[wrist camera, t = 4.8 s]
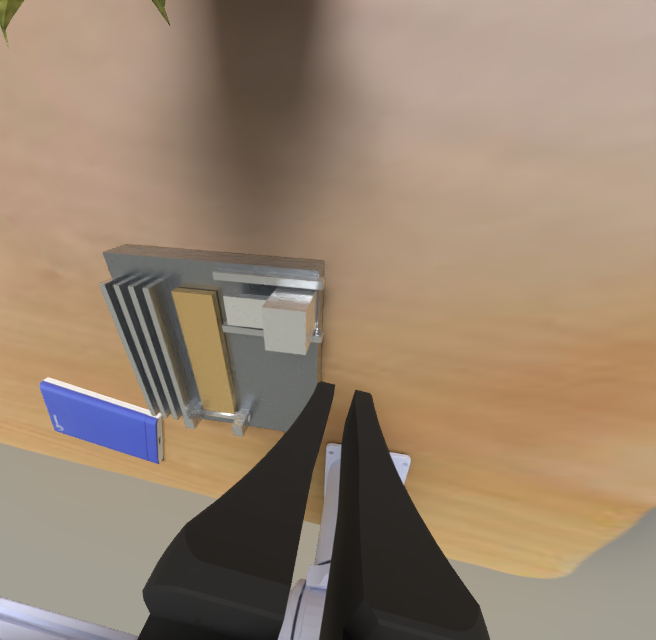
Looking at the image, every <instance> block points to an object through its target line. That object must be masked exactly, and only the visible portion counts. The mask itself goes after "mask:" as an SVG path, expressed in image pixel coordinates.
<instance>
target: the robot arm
mask: <svg viewBox="0 0 656 640" xmlns="http://www.w3.org/2000/svg"><path fill="white" fill-rule="evenodd" d="M334 389H335V385H334V384H329V383H325V382H321V381H320V382H318V383H317V386H316V388H315V390H314V392H313V394H312V396H311V398H310V399H309V401H308V403H307V404H306V406H305V407H304V409H303V410H302V412H301V413H300V415H299V416H298V418H297V419H296V420H295V422H294V423H293V424H292V425H291V427H290V428H289V429H288V431H287V432H286V433H285V434H284V436H283V437H282V438H281V439H280V440H279V441H278V443H277V444H276V445H275V446H274V447H273V448H272V449H271V450H270V451H269V452H268V453H267V455H266V456H265V457H264V458H263V459H262V460H261V461H260V462H259V463H258V464H257V465H256V466H255V467H254V468H253V469H252V470H251V471H249V472H248V473H247V474H246V475H245V476H244V477H243V478H242V479H241V480H240V481H238V482H237V483H236V484H235V485H234V486H233V487H232V488H230V489H229V490H228V491H227V492H226V493H225V494H224V495H222V496H221V497H220V498H219V499H218V500H216V501H215V502H214V503H213V504H211V505H210V506H209V507H207V508H206V509H205V510H203V511H202V512H201V513H200V514H198V515H197V516H196V517H194V518H193V519H192V520H191V521H189V522H188V523H187V524H186V525H185V526H184V527H183V528H182V529H181V531H180V532H179V533H178V534H177V536H176V537H175V538H174V539H173V541H172V542H171V544H170V545H169V546H168V548H167V549H166V551H165V552H164V554H163V555H162V557H161V558H160V560H159V561H158V563H157V565H156V567H155V568H154V570H153V572H152V574H151V576H150V578H149V579H148V582H147V583H146V585H145V587H144V589H143V599H144V601H145V604H146V606H147V608H148V610H149V612H150V615H149V617H148V619H147V621H146V623H145V625H144V627H143V629H142V631H141V633H140V635H139V636H136V635H133V634H129V633H126V632H122V631H119V630H115V629H112V628H108V627H105V626H101V625H98V624H95V623H91V622H88V621H84V620H81V619H77V618H74V617H70V616H66V615H63V614H60V613H56V612H53V611H49V610H46V609H42V608H39V607H35V606H32V605H29V604H25V603H21V602H18V601H15V600H11V599H8V598H4V597H1V596H0V640H490V637H489V634H488V631H487V627H486V625H485V621H484V618H483V615H482V612H481V609H480V606H479V604H478V603H477V602H476V600H475V599H474V597H473V596H472V595H471V593H470V592H469V590H468V589H467V588H466V586H465V585H464V583H463V582H462V581H461V579H460V578H459V576H458V575H457V573H456V572H455V570H454V569H453V568H452V566H451V565H450V563H449V562H448V560H447V558H446V557H445V555H444V554H443V552H442V551H441V549H440V548H439V546H438V545H437V543H436V541H435V540H434V538H433V536H432V535H431V533H430V531H429V530H428V528H427V526H426V525H425V523H424V521H423V520H422V518H421V516H420V515H419V513H418V511H417V509H416V507H415V506H414V504H413V502H412V500H411V498H410V496H409V494H408V492H407V490H406V488H405V486H404V483H405V480H406V476H407V473H408V469H409V466H410V463H411V459H410V456H408V455H405V454H399V453H393V452H389V450H388V448H387V445H386V442H385V439H384V437H383V434H382V431H381V428H380V425H379V422H378V418H377V415H376V411H375V408H374V403H373V399H372V395H371V394H370V393H366V392H362V391H358V390H355V393H354V396H353V399H352V402H351V406H350V409H349V412H348V415H347V418H346V421H345V426H344V432H343V439H342V445H341V444H335V443H329V444H327V447H326V464H325V485H324V498H325V500H324V506H323V513H322V519H321V526H320V532H319V538H318V545H317V551H316V558H315V564H314V565H309V568H308V574H307V579H306V580H305V579H300V580H298V581H297V583H296V585H295V586H294V587H293V588H292V589H291V590H290V588H291V583H292V577H293V571H294V566H295V561H296V556H297V550H298V545H299V540H300V534H301V529H302V524H303V519H304V514H305V508H306V503H307V498H308V493H309V488H310V483H311V477H312V472H313V468H314V465H315V462H316V458H317V455H318V452H319V448H320V445H321V442H322V438H323V434H324V430H325V427H326V423H327V419H328V415H329V412H330V408H331V404H332V400H333V395H334Z"/></svg>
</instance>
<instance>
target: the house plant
mask: <svg viewBox="0 0 656 640" xmlns="http://www.w3.org/2000/svg"><path fill="white" fill-rule="evenodd" d="M23 1H24V0H0V26H1V28H2V31H3V34H4V37H5V39H6V42H7V45H8V41H7V36H6V30H5V29H6V28H7V26H8V24H9V22H10V21H11V19H12V17H13V16H14V14H15V13H16V12H17V10H18V9H19V7H20V6H21V4H22V3H23ZM152 1H153V3H154V4H155V5H156V7H157V8H158V10H159V11H160V12H161V14H162V15H163V17H164V18H165V20H166V21H167V22H168V24H169V21H168V18H167V15H166V12H165V8H164V6H165V0H152ZM169 25H170V24H169ZM8 48H9V46H8Z"/></svg>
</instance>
